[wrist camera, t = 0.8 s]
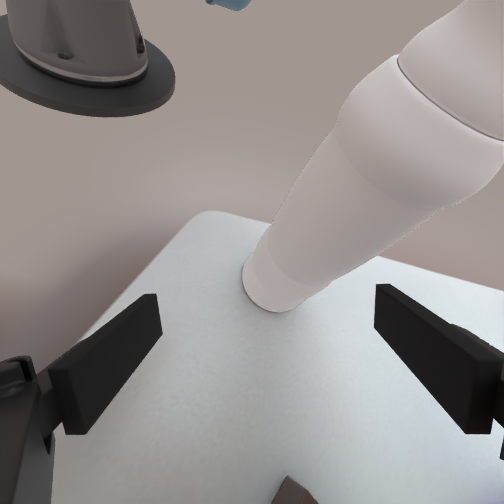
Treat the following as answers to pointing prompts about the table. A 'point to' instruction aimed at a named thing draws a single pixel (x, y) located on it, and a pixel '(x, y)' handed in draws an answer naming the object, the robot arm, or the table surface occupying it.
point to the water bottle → (391, 158)
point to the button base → (293, 494)
